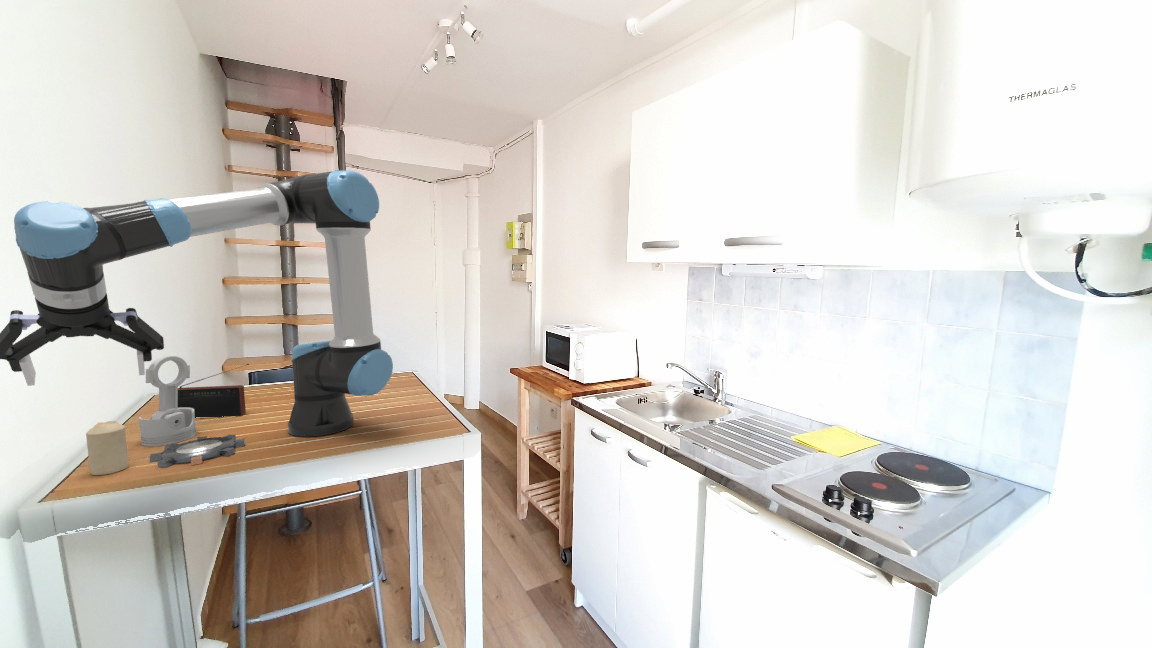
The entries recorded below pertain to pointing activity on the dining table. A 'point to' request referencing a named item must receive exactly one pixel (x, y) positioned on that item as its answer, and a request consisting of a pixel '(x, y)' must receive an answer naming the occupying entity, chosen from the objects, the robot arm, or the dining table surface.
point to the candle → (107, 448)
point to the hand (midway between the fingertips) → (90, 374)
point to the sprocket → (197, 450)
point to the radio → (213, 400)
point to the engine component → (168, 408)
